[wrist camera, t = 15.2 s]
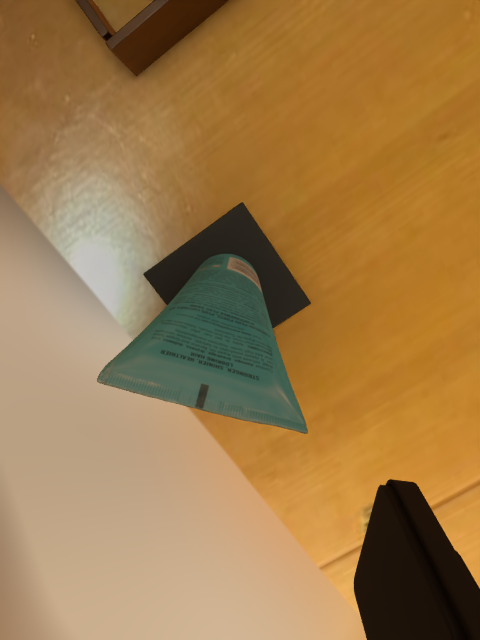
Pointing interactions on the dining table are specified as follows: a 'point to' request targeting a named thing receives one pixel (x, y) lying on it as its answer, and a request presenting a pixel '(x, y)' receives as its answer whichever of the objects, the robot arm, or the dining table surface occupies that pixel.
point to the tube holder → (150, 28)
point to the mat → (244, 241)
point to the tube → (212, 350)
